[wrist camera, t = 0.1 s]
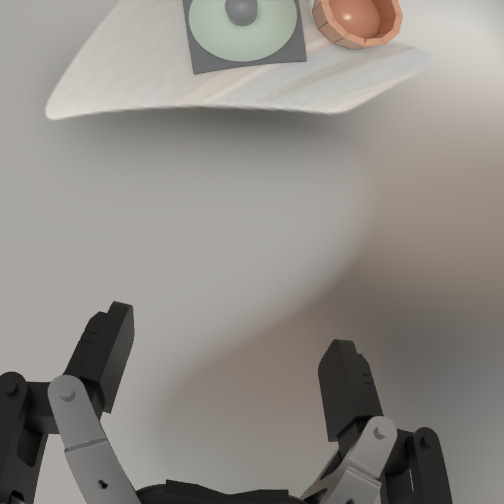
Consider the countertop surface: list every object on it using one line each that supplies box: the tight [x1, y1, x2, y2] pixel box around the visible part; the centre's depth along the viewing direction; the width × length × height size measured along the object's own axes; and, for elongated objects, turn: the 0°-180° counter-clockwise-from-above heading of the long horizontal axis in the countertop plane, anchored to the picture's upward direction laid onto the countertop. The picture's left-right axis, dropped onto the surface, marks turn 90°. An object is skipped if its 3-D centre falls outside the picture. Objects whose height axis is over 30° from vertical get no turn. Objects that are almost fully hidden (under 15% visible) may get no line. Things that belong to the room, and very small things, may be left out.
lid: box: [189, 0, 297, 62], centre depth 24 cm, size 12×12×5 cm
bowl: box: [312, 0, 403, 49], centre depth 24 cm, size 9×9×5 cm
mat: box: [183, 0, 307, 74], centre depth 27 cm, size 13×13×1 cm
